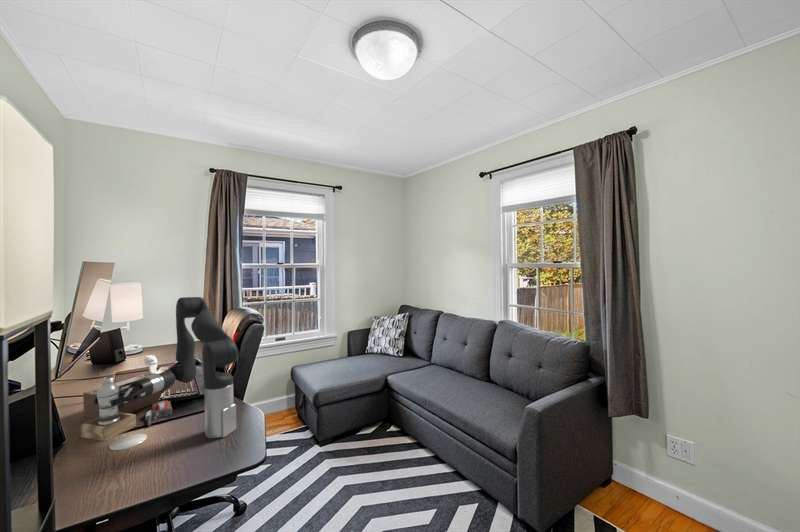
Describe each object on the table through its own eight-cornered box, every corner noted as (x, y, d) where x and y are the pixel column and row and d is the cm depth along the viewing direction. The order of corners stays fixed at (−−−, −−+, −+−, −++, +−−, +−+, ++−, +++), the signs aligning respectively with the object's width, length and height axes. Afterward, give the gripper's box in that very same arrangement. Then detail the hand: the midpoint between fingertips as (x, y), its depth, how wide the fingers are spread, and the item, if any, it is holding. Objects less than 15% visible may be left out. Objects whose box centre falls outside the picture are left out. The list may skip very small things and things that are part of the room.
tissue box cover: (150, 393, 158) (149, 372, 158) (171, 396, 154) (170, 375, 154) (83, 417, 134) (83, 392, 134) (106, 422, 129) (105, 397, 129)
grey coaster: (153, 436, 117) (153, 435, 117) (124, 452, 108) (124, 451, 108) (132, 433, 120) (132, 432, 120) (101, 448, 110) (101, 447, 110)
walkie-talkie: (145, 411, 139) (145, 429, 123) (145, 400, 139) (145, 418, 123) (170, 405, 144) (173, 422, 129) (170, 395, 144) (173, 411, 129)
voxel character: (149, 382, 158) (143, 354, 163) (143, 392, 164) (138, 365, 169) (166, 378, 163) (160, 351, 169) (160, 388, 169) (154, 361, 175)
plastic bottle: (94, 437, 117) (92, 382, 117) (102, 429, 123) (100, 376, 123) (116, 433, 120) (115, 379, 119) (123, 425, 126) (122, 373, 126)
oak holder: (136, 426, 125) (135, 414, 125) (104, 441, 115) (104, 428, 115) (113, 423, 128) (113, 411, 128) (81, 437, 118) (80, 424, 118)
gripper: (134, 376, 137) (88, 390, 121) (160, 378, 133) (117, 394, 118) (134, 393, 137) (89, 411, 121) (161, 396, 133) (117, 414, 118)
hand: (103, 402), depth 120 cm, fingers open, 8 cm apart
